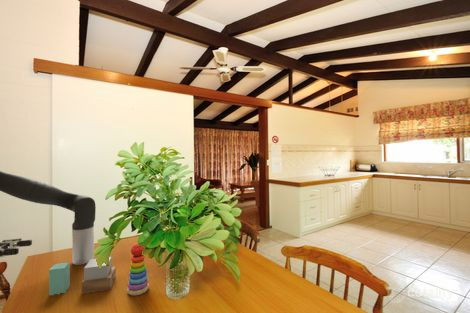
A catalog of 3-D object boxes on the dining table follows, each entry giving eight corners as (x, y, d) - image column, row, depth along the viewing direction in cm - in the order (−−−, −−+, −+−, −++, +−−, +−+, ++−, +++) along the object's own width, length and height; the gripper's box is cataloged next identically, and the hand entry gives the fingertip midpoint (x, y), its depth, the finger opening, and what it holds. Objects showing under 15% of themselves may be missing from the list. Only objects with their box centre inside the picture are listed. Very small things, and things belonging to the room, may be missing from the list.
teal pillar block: (55, 288, 92) (55, 264, 92) (69, 286, 94) (69, 262, 94) (49, 295, 88) (49, 269, 88) (64, 293, 89) (64, 268, 89)
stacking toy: (153, 288, 92) (152, 242, 92) (135, 299, 85) (135, 249, 85) (140, 282, 96) (140, 238, 96) (122, 292, 89) (122, 245, 89)
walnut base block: (89, 281, 98) (89, 269, 98) (115, 277, 101) (115, 266, 101) (81, 295, 89) (81, 282, 88) (110, 290, 91) (110, 278, 91)
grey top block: (90, 270, 97) (90, 259, 97) (111, 268, 99) (111, 256, 99) (84, 280, 89) (84, 268, 89) (106, 277, 92) (106, 265, 92)
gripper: (-47, 248, 76) (13, 243, 81) (-15, 235, 89) (35, 231, 94) (-48, 271, 76) (13, 264, 81) (-15, 254, 89) (35, 249, 94)
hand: (25, 246), depth 87 cm, fingers open, 8 cm apart
